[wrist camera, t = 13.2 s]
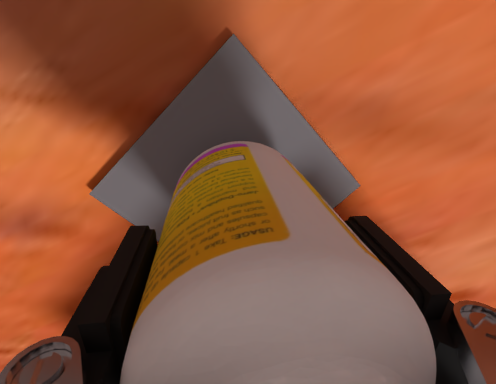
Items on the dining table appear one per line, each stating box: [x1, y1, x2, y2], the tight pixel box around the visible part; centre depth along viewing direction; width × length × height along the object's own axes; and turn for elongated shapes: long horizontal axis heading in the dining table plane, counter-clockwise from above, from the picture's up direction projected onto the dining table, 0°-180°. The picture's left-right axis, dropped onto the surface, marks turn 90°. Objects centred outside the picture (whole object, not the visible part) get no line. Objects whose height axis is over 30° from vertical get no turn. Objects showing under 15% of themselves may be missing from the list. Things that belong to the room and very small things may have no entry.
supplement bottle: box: [120, 141, 436, 384], centre depth 8 cm, size 7×7×13 cm
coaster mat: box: [90, 34, 360, 242], centre depth 16 cm, size 11×11×1 cm
